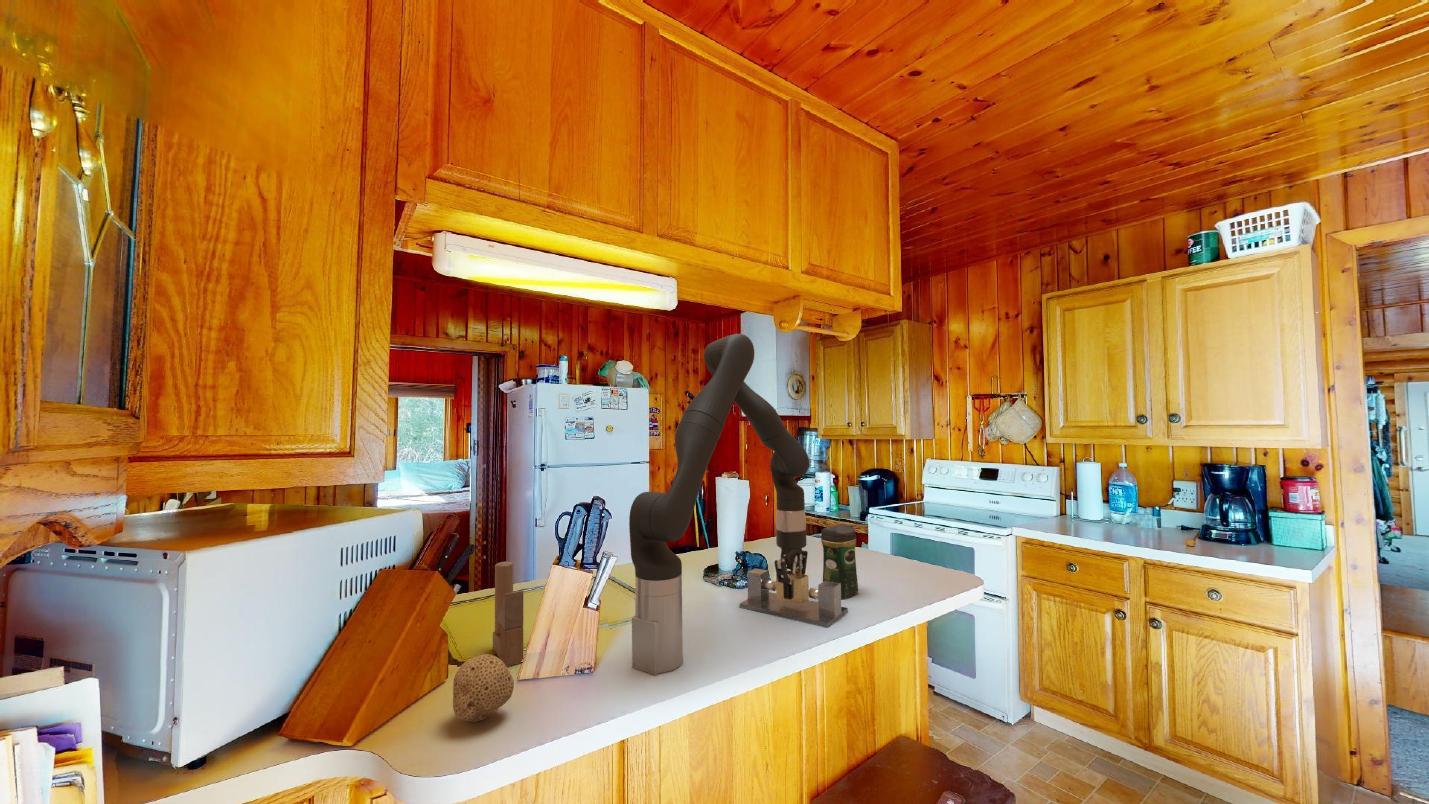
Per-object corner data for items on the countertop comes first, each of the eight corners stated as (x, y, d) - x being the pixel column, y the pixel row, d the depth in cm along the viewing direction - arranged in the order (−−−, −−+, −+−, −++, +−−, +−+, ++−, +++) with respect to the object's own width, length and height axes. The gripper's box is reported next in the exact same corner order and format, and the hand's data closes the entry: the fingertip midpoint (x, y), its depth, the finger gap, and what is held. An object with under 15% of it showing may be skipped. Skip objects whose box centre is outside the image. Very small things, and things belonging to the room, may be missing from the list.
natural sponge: (519, 702, 90) (519, 642, 90) (506, 732, 81) (506, 666, 82) (462, 707, 89) (462, 646, 89) (443, 738, 80) (443, 671, 80)
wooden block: (504, 668, 103) (505, 574, 104) (492, 649, 112) (492, 562, 113) (524, 662, 105) (524, 571, 106) (510, 644, 114) (510, 560, 115)
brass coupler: (801, 604, 129) (801, 579, 130) (776, 598, 133) (775, 574, 134) (808, 599, 133) (808, 575, 133) (783, 594, 137) (783, 570, 137)
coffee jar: (839, 587, 151) (837, 521, 151) (862, 593, 145) (861, 525, 145) (817, 594, 144) (815, 525, 145) (841, 601, 138) (839, 529, 139)
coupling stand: (827, 627, 121) (827, 592, 121) (739, 607, 135) (739, 575, 135) (847, 612, 131) (847, 579, 131) (763, 594, 145) (763, 565, 145)
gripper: (790, 521, 142) (792, 586, 141) (763, 530, 130) (765, 601, 129) (816, 524, 137) (818, 591, 137) (791, 534, 126) (792, 607, 125)
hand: (792, 595), depth 133 cm, fingers closed on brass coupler, 4 cm apart
